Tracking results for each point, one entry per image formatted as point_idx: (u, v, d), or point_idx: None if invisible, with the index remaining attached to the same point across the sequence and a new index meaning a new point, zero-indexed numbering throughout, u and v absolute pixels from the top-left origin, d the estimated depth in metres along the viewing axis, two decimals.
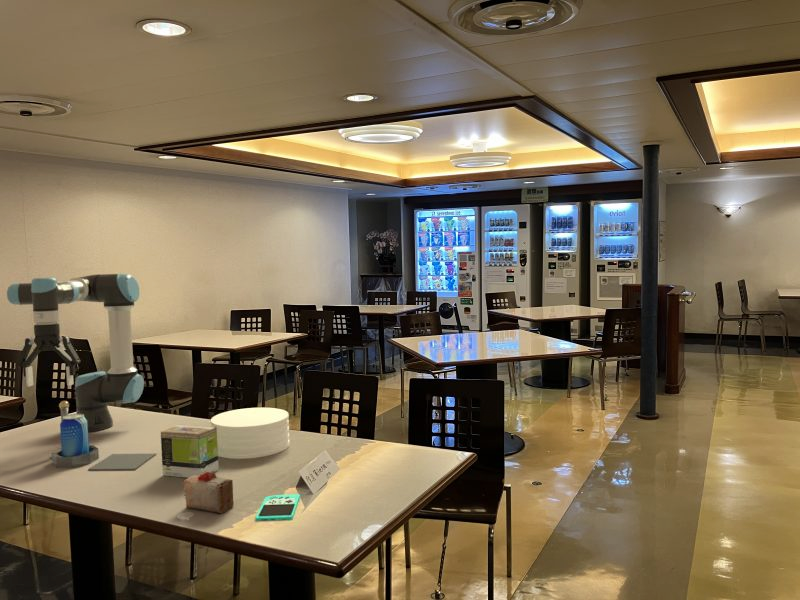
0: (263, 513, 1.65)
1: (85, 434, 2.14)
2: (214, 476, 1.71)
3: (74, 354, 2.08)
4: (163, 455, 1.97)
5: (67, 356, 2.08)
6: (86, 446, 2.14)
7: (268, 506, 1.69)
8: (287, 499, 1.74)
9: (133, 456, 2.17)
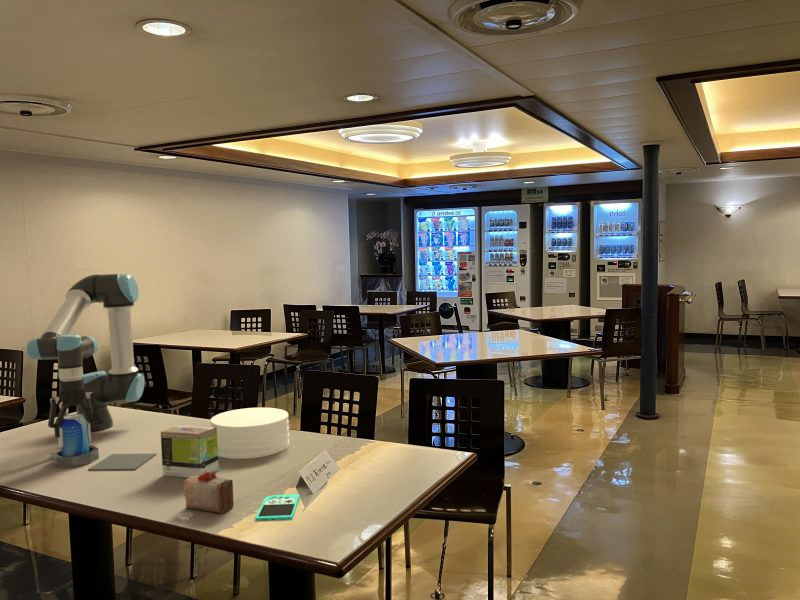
0: (263, 513, 1.65)
1: (85, 434, 2.14)
2: (214, 476, 1.71)
3: None
4: (163, 455, 1.97)
5: None
6: (86, 446, 2.14)
7: (268, 506, 1.69)
8: (287, 499, 1.74)
9: (133, 456, 2.17)
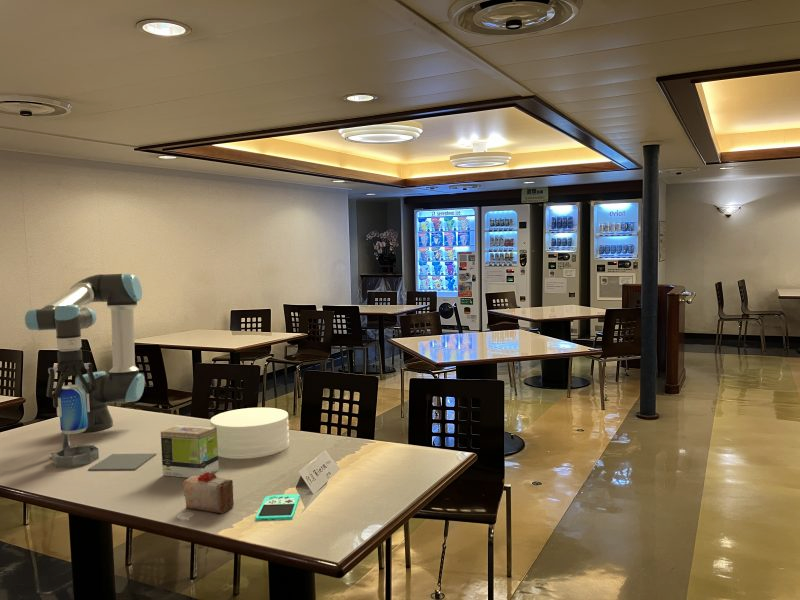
0: (263, 513, 1.65)
1: (83, 404, 2.13)
2: (214, 476, 1.71)
3: None
4: (163, 455, 1.97)
5: (86, 383, 2.17)
6: (85, 417, 2.14)
7: (267, 506, 1.69)
8: (287, 499, 1.74)
9: (133, 456, 2.17)
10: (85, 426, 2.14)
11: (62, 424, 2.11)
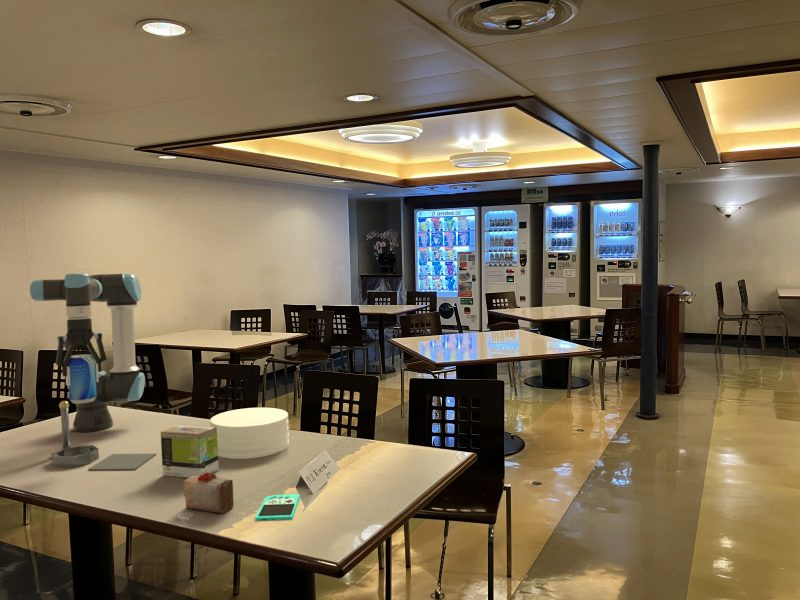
0: (263, 513, 1.65)
1: (92, 373, 2.11)
2: (214, 476, 1.71)
3: None
4: (163, 455, 1.97)
5: None
6: (93, 386, 2.12)
7: (268, 506, 1.69)
8: (287, 499, 1.74)
9: (133, 456, 2.17)
10: (94, 396, 2.12)
11: (71, 393, 2.09)
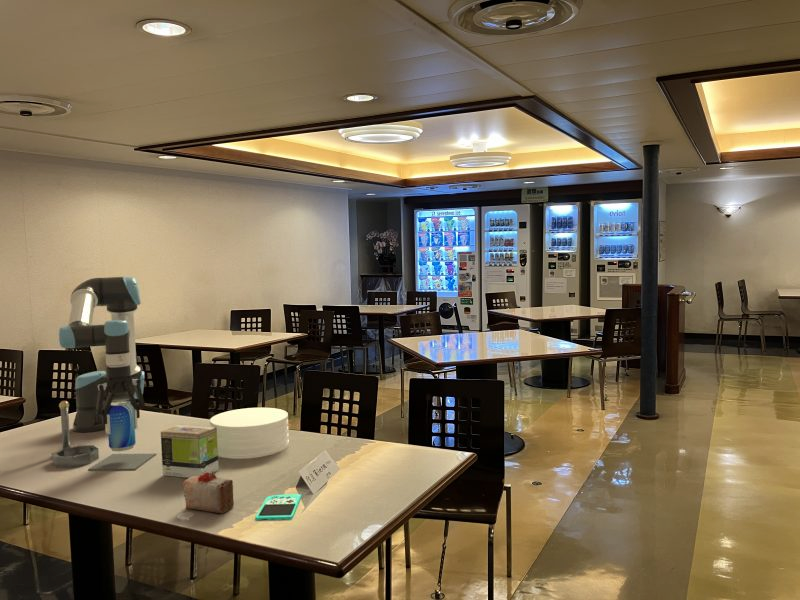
0: (263, 513, 1.65)
1: (132, 420, 2.11)
2: (214, 476, 1.71)
3: None
4: (163, 455, 1.97)
5: None
6: (133, 433, 2.11)
7: (268, 506, 1.69)
8: (288, 499, 1.74)
9: (133, 456, 2.17)
10: (133, 443, 2.11)
11: (111, 441, 2.08)
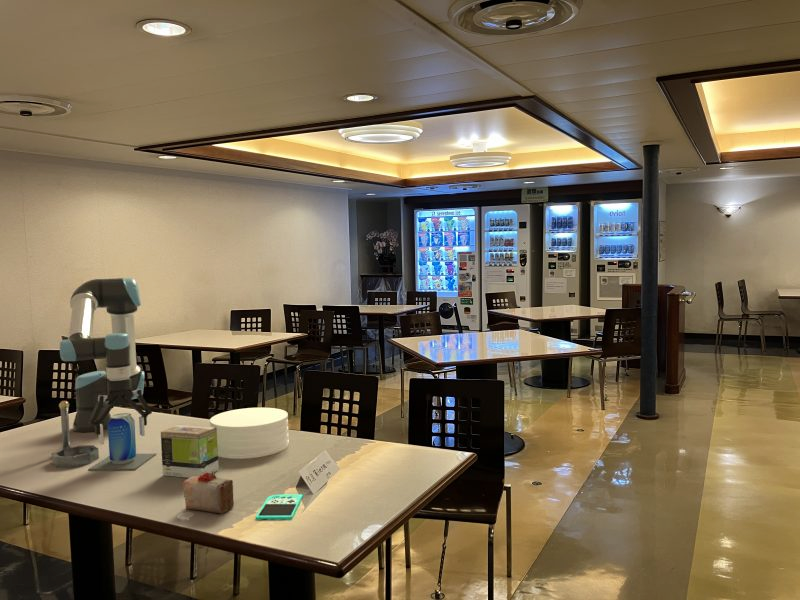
0: (264, 512, 1.65)
1: (132, 433, 2.11)
2: (214, 477, 1.71)
3: None
4: (163, 455, 1.97)
5: (139, 408, 2.15)
6: (134, 446, 2.12)
7: (269, 506, 1.70)
8: (289, 499, 1.74)
9: None
10: (134, 456, 2.12)
11: (111, 454, 2.08)
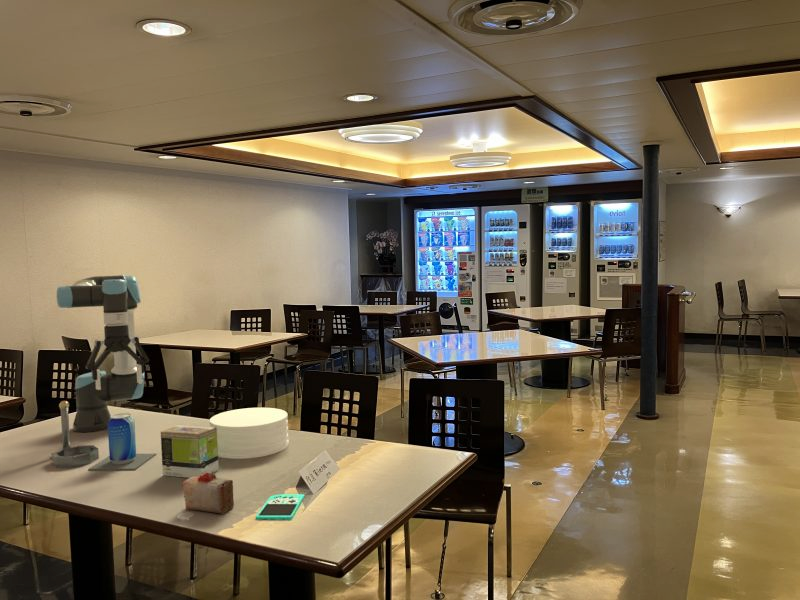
0: (264, 512, 1.65)
1: (132, 433, 2.11)
2: (214, 477, 1.70)
3: None
4: (163, 455, 1.97)
5: None
6: (134, 446, 2.12)
7: (270, 506, 1.70)
8: (291, 499, 1.74)
9: None
10: (134, 456, 2.12)
11: (111, 454, 2.08)
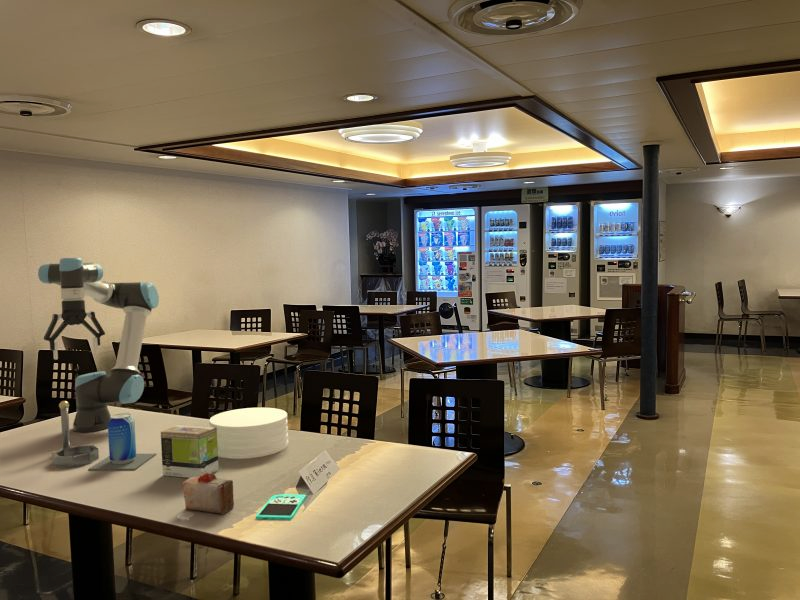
0: (264, 512, 1.66)
1: (132, 433, 2.11)
2: (214, 477, 1.70)
3: None
4: (163, 455, 1.97)
5: (93, 329, 2.31)
6: (134, 446, 2.12)
7: (271, 505, 1.70)
8: (292, 499, 1.74)
9: None
10: (134, 456, 2.12)
11: (111, 454, 2.08)
